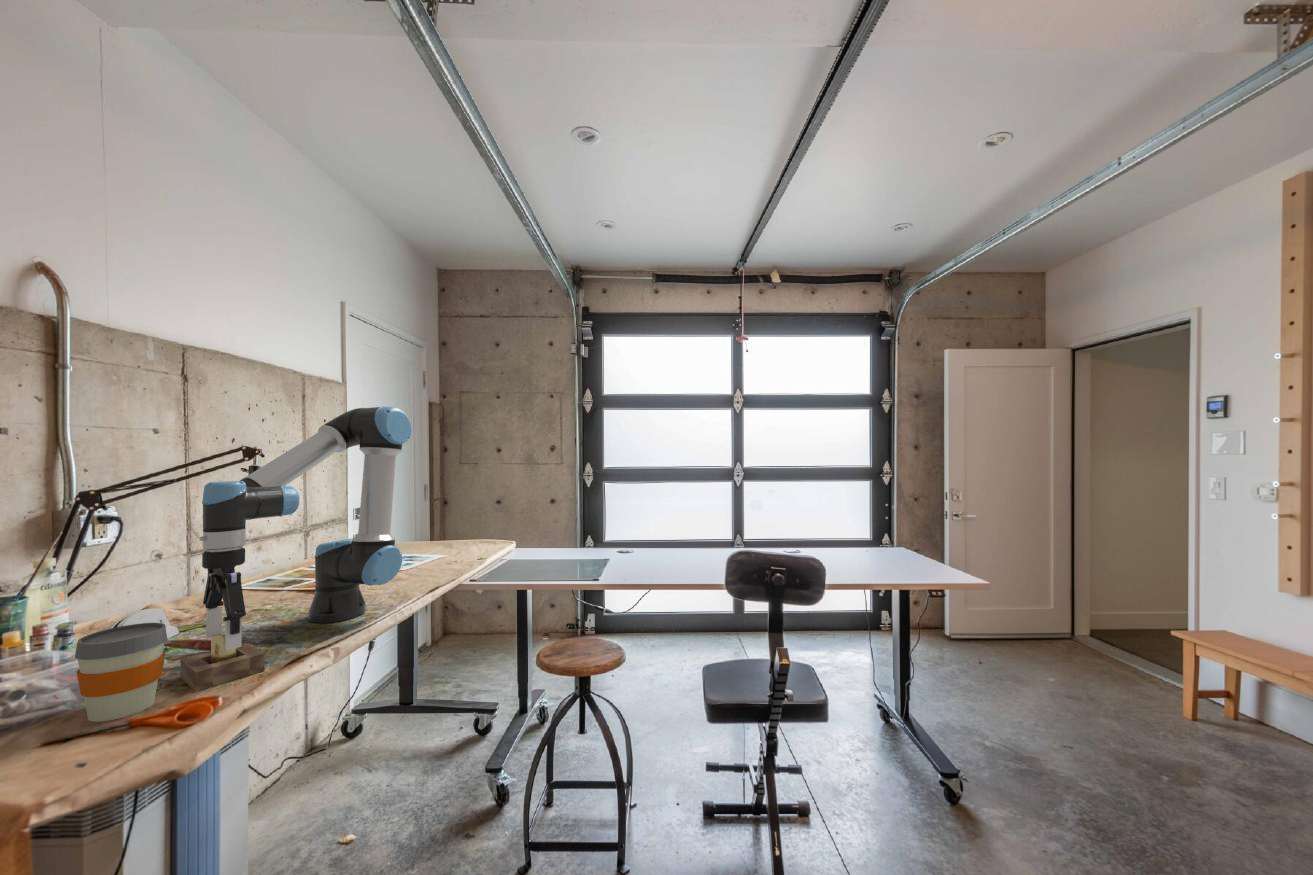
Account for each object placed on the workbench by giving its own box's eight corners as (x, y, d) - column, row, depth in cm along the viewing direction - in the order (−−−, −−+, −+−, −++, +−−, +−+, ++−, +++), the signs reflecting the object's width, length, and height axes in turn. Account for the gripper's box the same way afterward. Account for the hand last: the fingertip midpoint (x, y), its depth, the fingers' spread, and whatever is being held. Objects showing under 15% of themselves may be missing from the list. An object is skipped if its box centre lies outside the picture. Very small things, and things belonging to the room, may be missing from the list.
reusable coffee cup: (161, 688, 108) (162, 618, 109) (171, 706, 100) (172, 630, 101) (72, 712, 99) (73, 635, 99) (74, 734, 91) (76, 650, 91)
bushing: (232, 668, 118) (232, 629, 119) (238, 672, 116) (239, 633, 116) (208, 675, 115) (208, 635, 115) (214, 680, 112) (214, 639, 113)
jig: (246, 659, 124) (246, 642, 124) (264, 670, 117) (264, 653, 117) (180, 677, 114) (180, 659, 114) (195, 691, 107) (196, 672, 107)
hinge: (137, 654, 127) (121, 618, 127) (115, 663, 126) (98, 626, 126) (180, 632, 144) (166, 599, 143) (160, 639, 142) (146, 607, 142)
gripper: (187, 546, 120) (185, 636, 120) (220, 557, 106) (219, 659, 105) (227, 541, 126) (226, 626, 126) (264, 551, 112) (263, 648, 111)
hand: (223, 642), depth 115 cm, fingers open, 13 cm apart
